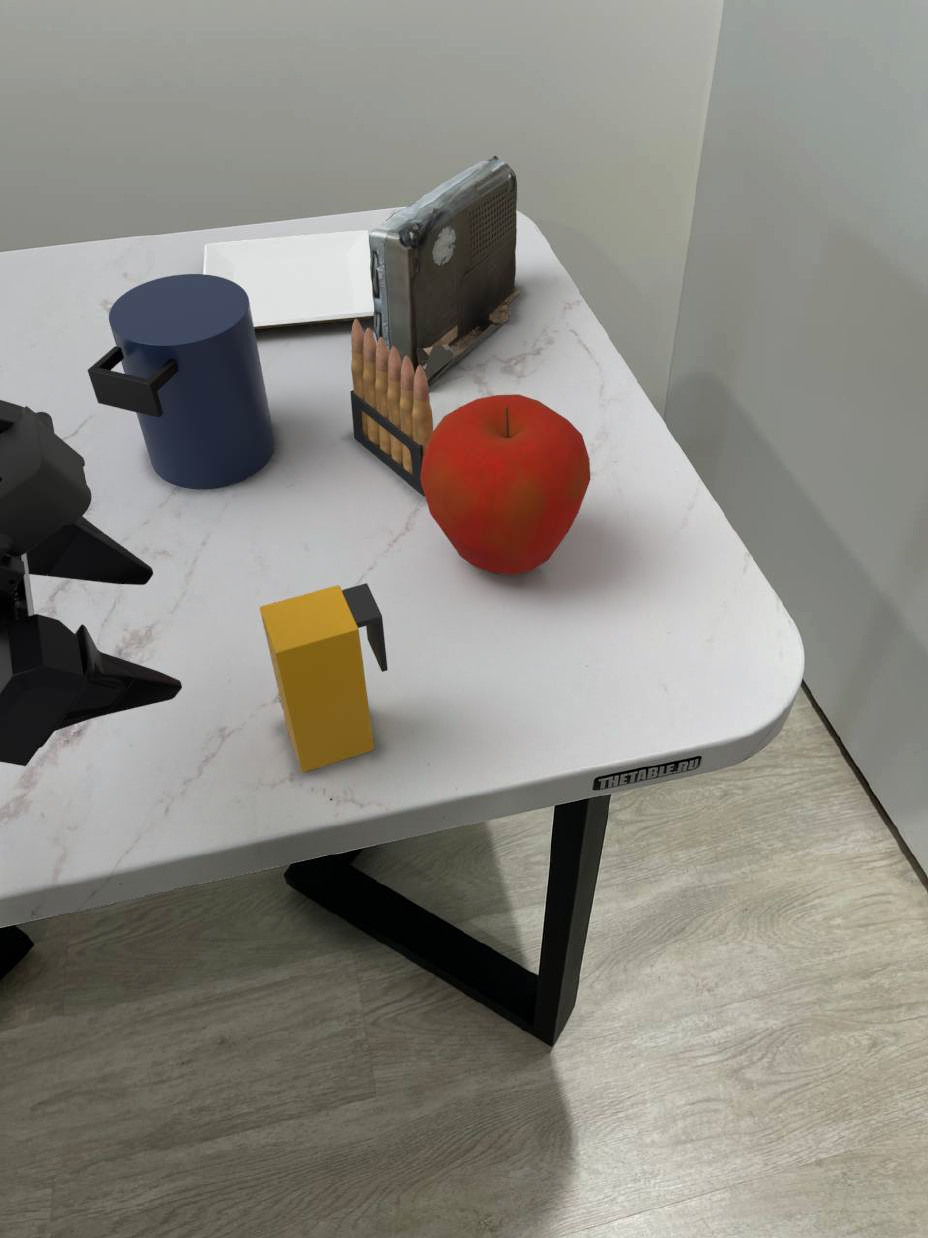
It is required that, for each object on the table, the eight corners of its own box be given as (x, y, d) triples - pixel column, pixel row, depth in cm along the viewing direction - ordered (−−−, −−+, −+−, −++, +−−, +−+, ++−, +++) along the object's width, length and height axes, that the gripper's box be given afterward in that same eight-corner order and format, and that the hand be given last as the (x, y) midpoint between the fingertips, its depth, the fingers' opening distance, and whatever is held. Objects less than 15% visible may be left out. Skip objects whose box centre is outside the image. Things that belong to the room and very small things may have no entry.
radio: (487, 271, 112) (487, 132, 101) (553, 293, 109) (560, 151, 98) (351, 367, 99) (334, 220, 89) (420, 396, 96) (412, 246, 85)
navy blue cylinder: (215, 525, 84) (178, 380, 74) (103, 495, 87) (53, 351, 76) (296, 428, 93) (273, 286, 83) (193, 403, 96) (159, 264, 85)
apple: (401, 582, 79) (388, 434, 69) (464, 491, 86) (461, 345, 76) (549, 629, 75) (560, 480, 65) (602, 530, 83) (618, 382, 72)
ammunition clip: (441, 487, 87) (436, 366, 78) (424, 496, 86) (417, 374, 77) (370, 429, 92) (358, 310, 84) (353, 437, 92) (340, 317, 83)
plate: (388, 330, 104) (386, 311, 103) (204, 347, 102) (200, 329, 101) (371, 245, 117) (370, 227, 115) (207, 259, 115) (204, 241, 114)
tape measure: (302, 773, 67) (275, 652, 58) (287, 728, 69) (259, 606, 60) (397, 743, 68) (385, 621, 60) (378, 700, 71) (364, 577, 62)
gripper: (-63, 543, 37) (286, 649, 47) (-73, 300, 49) (206, 427, 59) (-182, 740, 41) (163, 798, 51) (-164, 471, 53) (112, 562, 63)
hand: (163, 630), depth 56 cm, fingers open, 9 cm apart
